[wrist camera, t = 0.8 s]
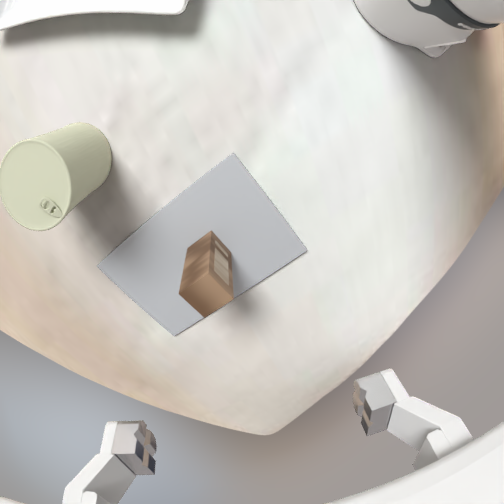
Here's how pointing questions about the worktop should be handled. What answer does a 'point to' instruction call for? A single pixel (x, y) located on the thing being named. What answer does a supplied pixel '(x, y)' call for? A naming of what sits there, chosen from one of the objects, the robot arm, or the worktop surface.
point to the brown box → (207, 275)
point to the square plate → (81, 9)
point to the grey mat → (191, 230)
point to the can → (53, 174)
